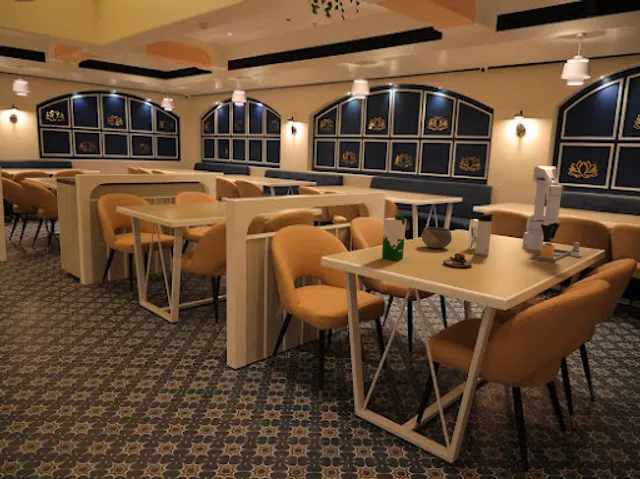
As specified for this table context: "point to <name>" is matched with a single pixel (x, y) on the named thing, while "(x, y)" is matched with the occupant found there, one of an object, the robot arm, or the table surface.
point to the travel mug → (483, 235)
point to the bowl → (436, 237)
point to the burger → (458, 261)
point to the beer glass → (473, 233)
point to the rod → (576, 247)
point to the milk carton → (393, 238)
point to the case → (560, 253)
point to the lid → (538, 257)
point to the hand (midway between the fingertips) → (548, 239)
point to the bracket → (574, 253)
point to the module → (547, 250)
